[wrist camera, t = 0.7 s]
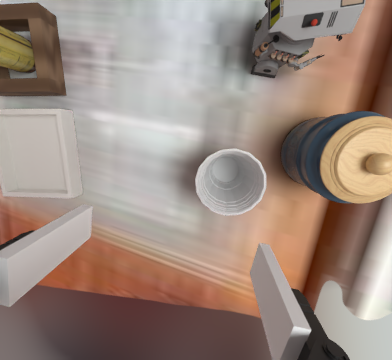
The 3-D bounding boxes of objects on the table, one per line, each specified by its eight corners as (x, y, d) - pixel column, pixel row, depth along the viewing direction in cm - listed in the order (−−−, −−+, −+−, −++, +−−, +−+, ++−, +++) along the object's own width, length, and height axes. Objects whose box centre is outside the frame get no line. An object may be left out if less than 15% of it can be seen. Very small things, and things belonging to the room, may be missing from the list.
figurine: (303, 84, 37) (364, 51, 22) (242, 73, 37) (262, 33, 23) (320, 28, 35) (398, -48, 20) (255, 17, 35) (285, -67, 20)
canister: (265, 157, 40) (304, 173, 23) (313, 103, 37) (399, 77, 20) (312, 196, 41) (382, 240, 24) (362, 147, 38) (484, 157, 21)
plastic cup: (197, 192, 43) (191, 213, 31) (202, 141, 41) (197, 144, 29) (247, 197, 42) (261, 221, 31) (255, 146, 40) (273, 152, 28)
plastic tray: (2, 111, 43) (-17, 109, 39) (72, 110, 41) (60, 108, 38) (18, 191, 47) (3, 196, 43) (83, 193, 45) (72, 198, 42)
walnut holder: (-12, 19, 39) (-37, 6, 35) (55, 16, 38) (37, 2, 34) (3, 96, 42) (-18, 92, 38) (66, 95, 41) (50, 91, 37)
